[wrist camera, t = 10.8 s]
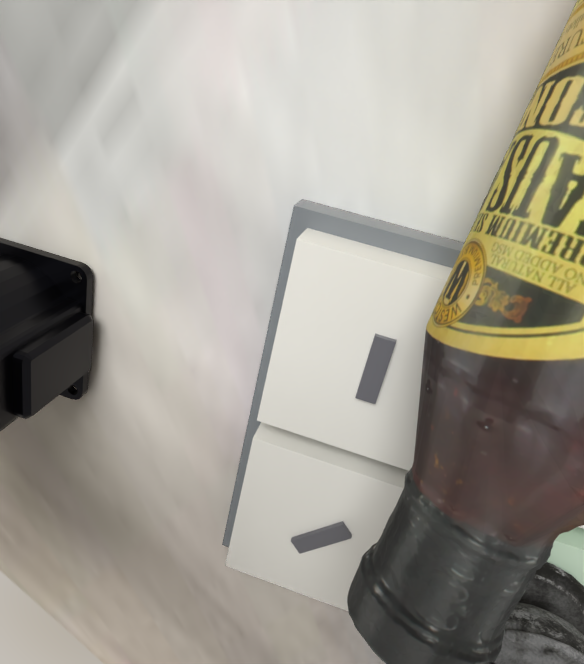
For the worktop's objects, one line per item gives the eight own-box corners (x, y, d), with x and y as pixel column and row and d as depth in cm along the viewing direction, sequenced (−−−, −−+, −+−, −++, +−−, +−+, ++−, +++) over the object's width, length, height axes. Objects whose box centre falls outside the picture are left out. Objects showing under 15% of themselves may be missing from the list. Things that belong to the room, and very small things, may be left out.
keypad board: (231, 526, 26) (208, 574, 24) (302, 198, 19) (280, 216, 16) (570, 648, 24) (585, 715, 21) (793, 332, 17) (855, 375, 14)
